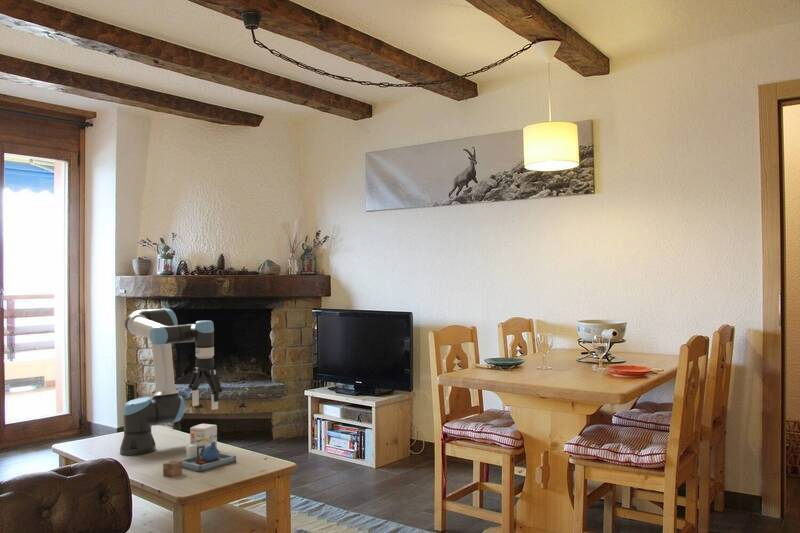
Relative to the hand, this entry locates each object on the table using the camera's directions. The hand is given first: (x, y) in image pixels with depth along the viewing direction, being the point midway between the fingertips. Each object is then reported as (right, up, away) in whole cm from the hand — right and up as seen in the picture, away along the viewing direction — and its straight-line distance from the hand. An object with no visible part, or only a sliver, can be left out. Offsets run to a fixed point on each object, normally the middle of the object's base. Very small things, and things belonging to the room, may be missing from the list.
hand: (205, 407), depth 278 cm
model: (+2, -22, -3) cm, 23 cm away
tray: (+2, -23, -4) cm, 23 cm away
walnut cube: (-8, -23, -18) cm, 30 cm away
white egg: (-7, -23, +4) cm, 25 cm away
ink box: (-6, -24, +17) cm, 30 cm away
